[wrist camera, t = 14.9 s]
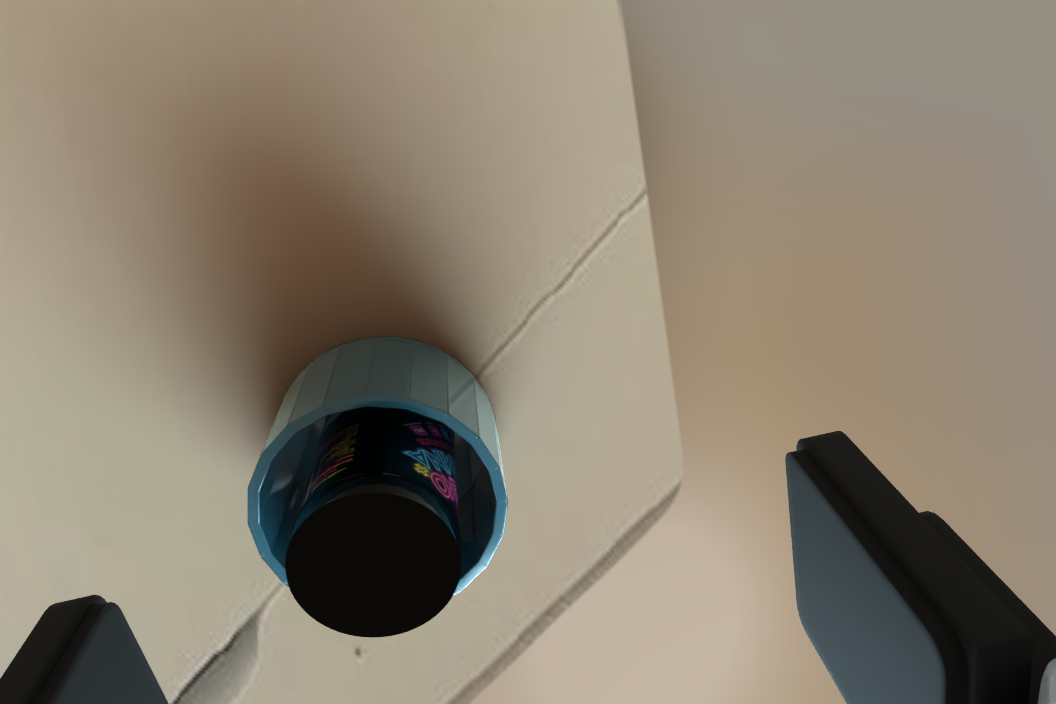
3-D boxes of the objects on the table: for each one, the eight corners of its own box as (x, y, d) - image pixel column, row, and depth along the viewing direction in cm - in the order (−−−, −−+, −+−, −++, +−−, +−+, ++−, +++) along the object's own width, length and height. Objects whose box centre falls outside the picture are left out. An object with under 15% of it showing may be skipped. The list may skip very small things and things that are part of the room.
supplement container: (423, 516, 43) (419, 658, 33) (299, 471, 41) (258, 607, 32) (478, 410, 41) (491, 528, 31) (351, 358, 39) (323, 466, 30)
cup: (470, 314, 40) (476, 371, 33) (514, 503, 44) (528, 585, 38) (247, 363, 40) (210, 429, 33) (313, 548, 44) (292, 639, 37)
